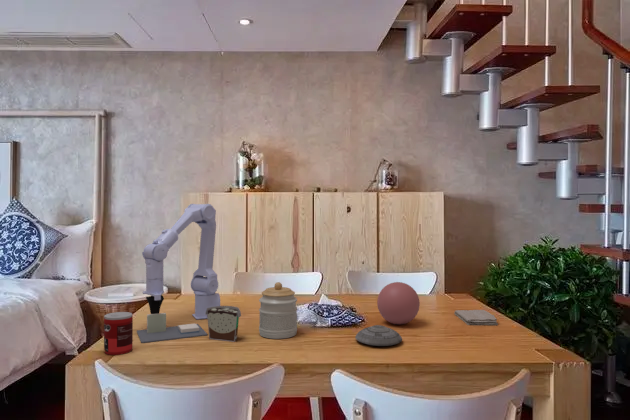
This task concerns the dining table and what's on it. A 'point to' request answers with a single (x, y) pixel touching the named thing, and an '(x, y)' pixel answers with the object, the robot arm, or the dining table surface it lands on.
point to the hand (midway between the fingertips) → (154, 317)
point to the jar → (278, 313)
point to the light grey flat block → (188, 328)
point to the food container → (223, 322)
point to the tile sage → (156, 322)
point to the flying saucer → (378, 336)
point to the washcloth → (476, 317)
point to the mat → (167, 334)
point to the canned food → (118, 333)
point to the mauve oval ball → (398, 303)
